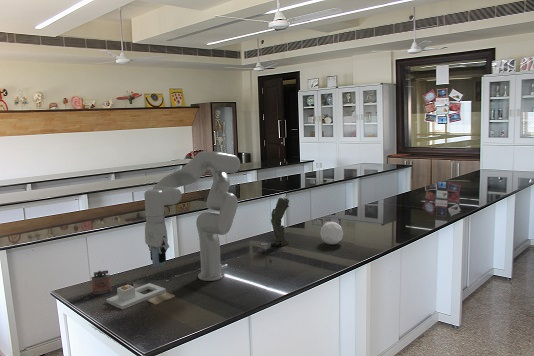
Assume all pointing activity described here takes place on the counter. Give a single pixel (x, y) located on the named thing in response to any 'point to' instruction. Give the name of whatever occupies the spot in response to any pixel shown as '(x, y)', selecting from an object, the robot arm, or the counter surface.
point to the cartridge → (156, 257)
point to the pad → (160, 298)
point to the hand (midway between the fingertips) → (158, 260)
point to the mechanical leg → (279, 222)
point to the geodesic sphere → (331, 232)
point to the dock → (134, 295)
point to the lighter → (101, 282)
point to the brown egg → (125, 287)
